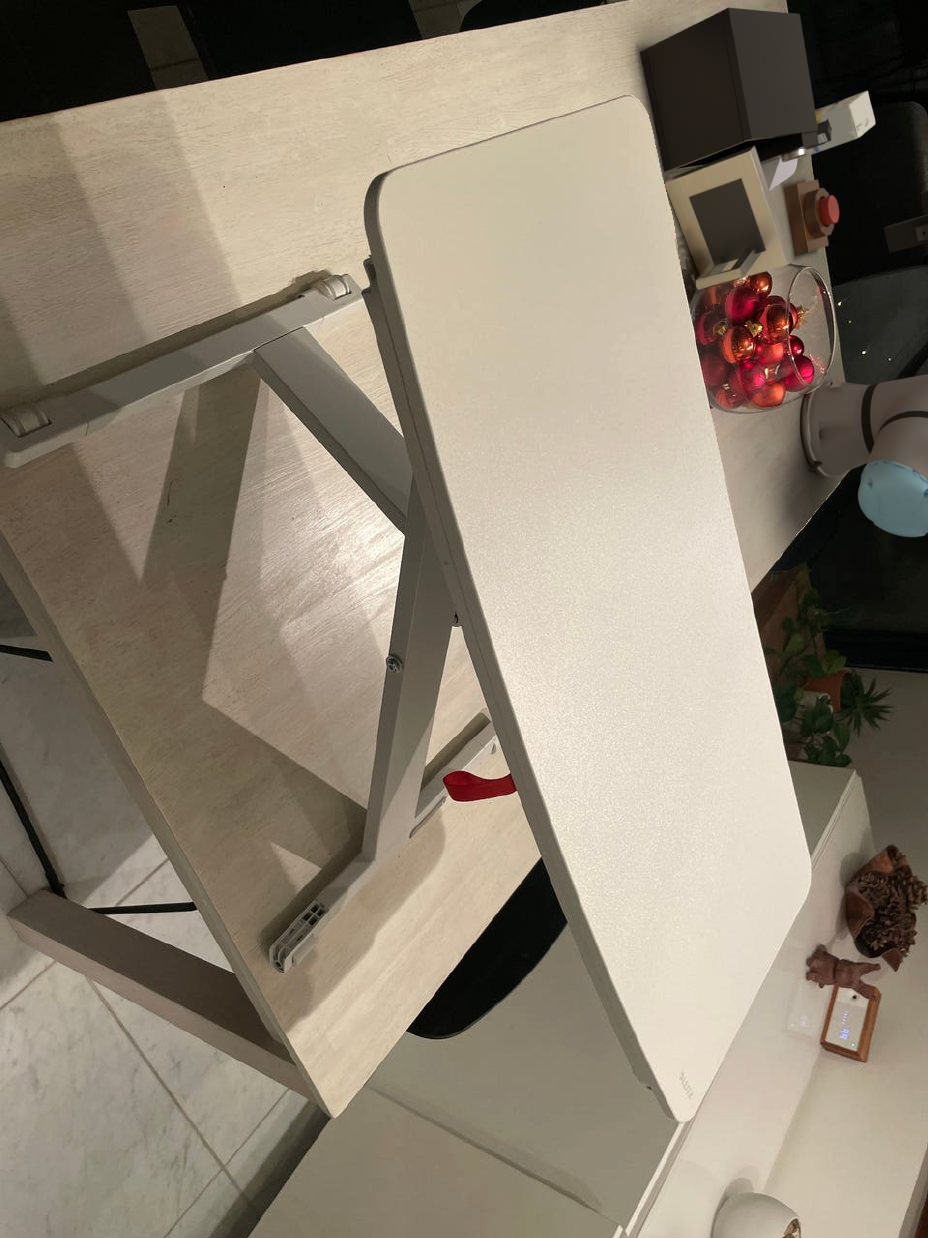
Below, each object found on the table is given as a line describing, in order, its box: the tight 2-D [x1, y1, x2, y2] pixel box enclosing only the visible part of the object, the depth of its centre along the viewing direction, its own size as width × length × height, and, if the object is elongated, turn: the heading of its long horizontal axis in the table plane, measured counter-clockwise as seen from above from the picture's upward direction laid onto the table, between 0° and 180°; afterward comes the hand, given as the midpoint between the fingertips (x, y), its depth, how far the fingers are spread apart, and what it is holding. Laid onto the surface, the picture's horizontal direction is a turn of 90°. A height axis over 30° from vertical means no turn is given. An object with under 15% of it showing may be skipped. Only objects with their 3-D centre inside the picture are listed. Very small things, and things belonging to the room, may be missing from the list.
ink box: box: [797, 90, 876, 160], centre depth 140 cm, size 9×5×12 cm, turn 123°
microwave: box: [639, 7, 819, 173], centre depth 120 cm, size 16×20×12 cm
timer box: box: [783, 179, 835, 257], centre depth 146 cm, size 10×8×4 cm
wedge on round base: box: [761, 158, 799, 192], centre depth 135 cm, size 9×7×13 cm
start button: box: [818, 195, 840, 226], centre depth 144 cm, size 4×4×2 cm
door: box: [664, 146, 793, 291], centre depth 117 cm, size 8×15×12 cm, turn 40°
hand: (906, 221), depth 107 cm, fingers open, 13 cm apart
